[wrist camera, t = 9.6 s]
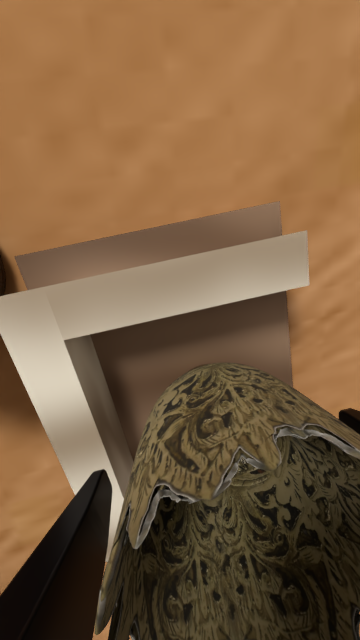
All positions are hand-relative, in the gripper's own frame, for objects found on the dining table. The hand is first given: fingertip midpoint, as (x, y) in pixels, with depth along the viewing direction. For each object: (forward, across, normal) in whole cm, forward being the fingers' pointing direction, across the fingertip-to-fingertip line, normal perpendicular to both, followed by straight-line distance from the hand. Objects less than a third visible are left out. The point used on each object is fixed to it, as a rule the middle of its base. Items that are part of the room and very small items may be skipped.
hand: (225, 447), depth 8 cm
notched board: (+6, +1, 0) cm, 6 cm away
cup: (+4, 0, 0) cm, 4 cm away
